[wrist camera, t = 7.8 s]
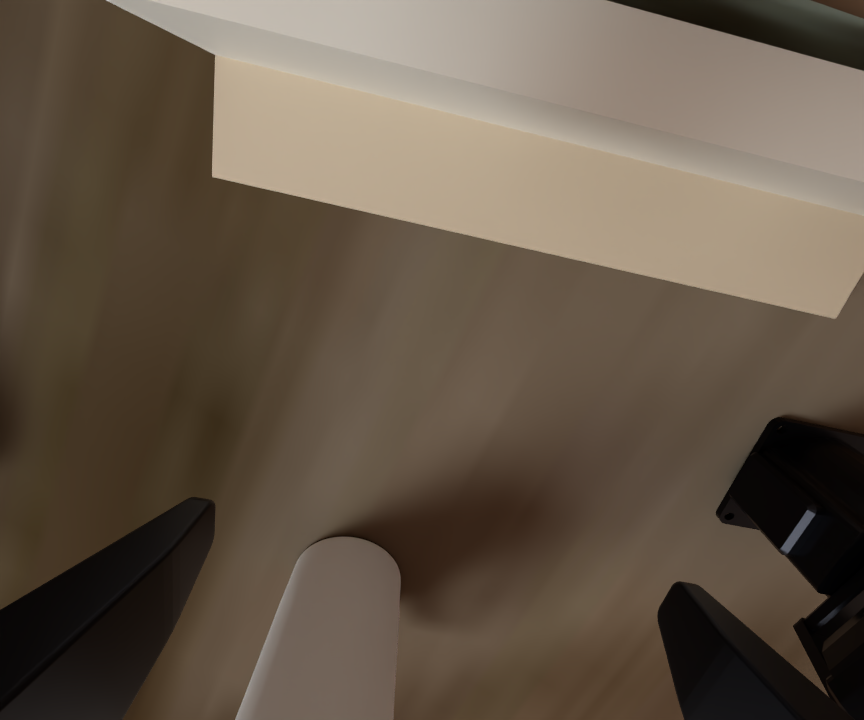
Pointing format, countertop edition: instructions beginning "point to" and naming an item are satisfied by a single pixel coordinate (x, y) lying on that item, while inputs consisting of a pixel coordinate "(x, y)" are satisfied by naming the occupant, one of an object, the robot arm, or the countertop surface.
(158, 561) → the robot arm
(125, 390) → the countertop surface
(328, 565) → the mug
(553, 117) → the long wooden tray
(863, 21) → the picture frame
